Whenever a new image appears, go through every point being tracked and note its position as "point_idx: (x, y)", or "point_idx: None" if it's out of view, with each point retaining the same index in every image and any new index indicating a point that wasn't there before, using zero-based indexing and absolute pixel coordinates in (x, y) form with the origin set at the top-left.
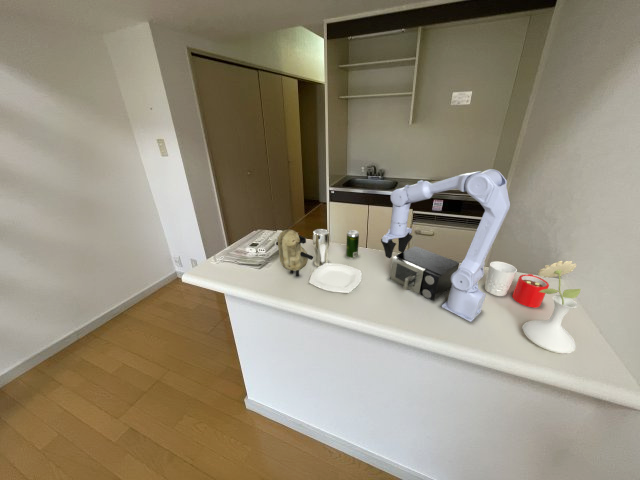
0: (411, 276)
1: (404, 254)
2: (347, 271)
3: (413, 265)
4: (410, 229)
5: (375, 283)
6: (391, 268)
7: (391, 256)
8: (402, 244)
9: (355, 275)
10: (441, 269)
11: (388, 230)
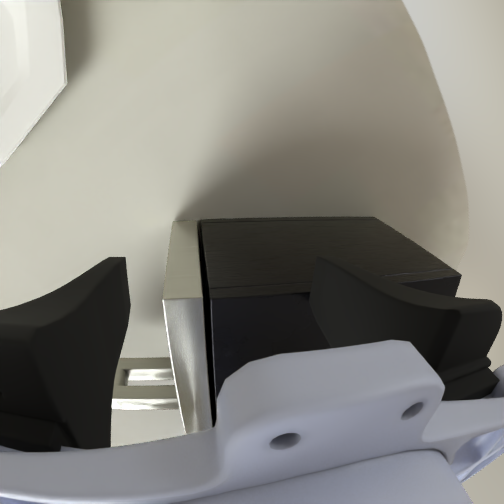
0: (153, 406)
1: (288, 327)
2: (20, 40)
3: (195, 427)
4: (492, 459)
5: (79, 198)
6: (168, 251)
7: (125, 322)
8: (349, 332)
9: (7, 110)
10: None
11: (228, 445)
